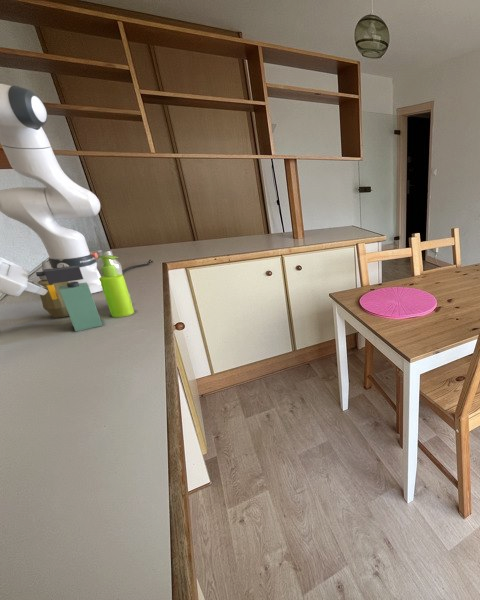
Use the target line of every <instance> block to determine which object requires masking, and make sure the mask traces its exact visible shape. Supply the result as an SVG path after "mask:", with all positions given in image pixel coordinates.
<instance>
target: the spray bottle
mask: <svg viewBox="0 0 480 600" xmlns="http://www.w3.org/2000/svg"><path fill="white" fill-rule="evenodd" d="M35 274H36V277H38V278H39V276H46V278H47V281H48V283H49V284H53V283H60V282H67V281H74V280H81V279H83V276H82V273H81V271H80V268H79V265H77V266H68V267H60V268H52V269H44V271H36V272H35ZM59 291H60V293H61V296H62V298H63V301H64V303H65V306H66V309H67V311H68V314H69V316H68V317H69V319H70V321H71V324H72V327H73V329H74V331H75V332H80V331H83V330H89V329H93V328H97V327H98V328H99V327H102V326H103V323H102V320H101V318H100V314H99V312H98V309H97V307H96V303H95V301H94V297H93V295H92V293H91V292H90V289H89V286H88V284H87V282H85V283H78V282H70V283H67V285H65V286H59Z"/></svg>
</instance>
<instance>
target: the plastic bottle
mask: <svg viewBox="0 0 480 600" xmlns="http://www.w3.org/2000/svg"><path fill="white" fill-rule="evenodd" d="M96 254H97V258H98V257H99V256H104V255H112V256H114V253H113V251H112V250H111V249H101V250H97V251H96ZM109 260H110V259H109ZM96 263H97V270H98V272H99V274H100V276H101V277H103V276H104V275H103V272H102V269H101V267H102V266H103V265H104V264H103V261H102V258H98V261H97V262H96ZM110 263H111V264H112V265H115V267H116V270H117V274H122V275H123V276H124V274H123V273H124V272H123V273H122V271H123V266H122V264H121V262H120V261H119V260H118V259H113V260H110ZM128 293H129V296H130V299H131V302H132V303H133V298H132V295H131V293H130V291H128Z"/></svg>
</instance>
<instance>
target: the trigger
mask: <svg viewBox="0 0 480 600" xmlns="http://www.w3.org/2000/svg"><path fill="white" fill-rule="evenodd" d="M47 288H48V290H49V293H50V295H51V298H52V300H55V299H58V295H57V292H56V290H55V287H54V285H53V284H49V283H47Z"/></svg>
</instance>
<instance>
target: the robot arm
mask: <svg viewBox="0 0 480 600" xmlns="http://www.w3.org/2000/svg"><path fill="white" fill-rule="evenodd" d="M47 121H48V111H47V108H46V106H45V103H44V102H43V101H42V99H41V98H40V97H39V96H38V95H37V94H36V93H35V92H34V91H32V90H30V89H27V88H24V87H22V86H18V85H9V84H5V83H0V146H1V147H2V150H3V152H4V154H5V156H6V158H7V160H8V162H9V163H8V164H9V165H10V167H11V168H12V169H13V170H14V171H15V172H16V173H18V174H20V175H21V176H23V177H26V178H28V179H29V178H30V179H32V180H35V181H37V182H40V184H42V185H44V187H39V186H38V187H35V186H34V187H31V186H30V187H29V186H25V187H23V186H21V187H11V188H5V189H4V188H3V189H0V213H2V214H3V215H5V216H7V217H8V218H10V219H13V220H15V221H17V222H20V223H21V224H23V225H25V226H27V227H28V228H29V229H31V230H32V231H33V232H34V233H35V234H36V235H37V236H38V238H39V239H40V240H41V242H42V244H43V246H44V248H45V250H46V253H47V255H48V263H49V264H50V266H51V267H52V268H60V267H68V266H77V265H79V268H80V271H81V273H82V276H83V279H81V280H74V281H68V283H70V282H78V283H85V282H87V284H88V286H89V289H90V292H91V294H96V293H98V292H103V289H102V286H101V283H100V280H99V278H100V277H101V276H100V274H99V272H98V270H97V263H98V262H97V260H96V259H98V253H97V252H90V250H89V249H90V248H89V246H88V243H87V239H86V237H85V236H84V235H83V233H82V232H80V231H77V230H75V229H72V228H68V227H65V226H62V225H61V224H60V223H58V221H57V220H69V219H70V220H71V219H73V220H74V219H85V218H90V217H95V216H97V215H98V214H99V212H100V211H101V201H100V199H99V198H98V197H97V195H96V194H94V192H93V191H91V190H89V189H87V188H85V187H83V186H81V185H79V184H78V183H76V182H75V181H73V179H71V178H70V177H69V176H68V175H67V174H66V173H65V172H64V170H63V169H62V167H61V165H60V163H59V162H58V159H57V157H56V155H55V153H54V150H53V148H52V145H51V143H50V141H49V138H48V136H47V134H46V132H45V131H44V129H43V127H44V126H45V124H47ZM151 260H152V259H149V260H148V262H150V261H151ZM148 262H146V263H147V264H145V263H141V264H135V265H131V266H128V267H126V268H125V269H122V273H125V272H127V271H129V270H131V269H135V268H140V267H146V266H148V265H150V264H151V263H153V262H154V261H153V260H152V261H151V262H150V263H148ZM29 273H30V272H29V270H27V269H26V268H25V267H23V266H21V265H19V264H17V263H15V262H12V261H11V260H9V259H6V258H4V257H2V256H0V293H1V294H5V295H8V296H11V297H14V298H15V297H16V298H17V297H19V296H20V295H21V294H23V292H24V291H25V292H27V293H33V294H37V295H39V296H40V295H45V294H46V293H47V292H48V289H47V288H46V287H44V286H41V285H40V284H38V282H36V281H34V280H32V279H30V278H29Z"/></svg>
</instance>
